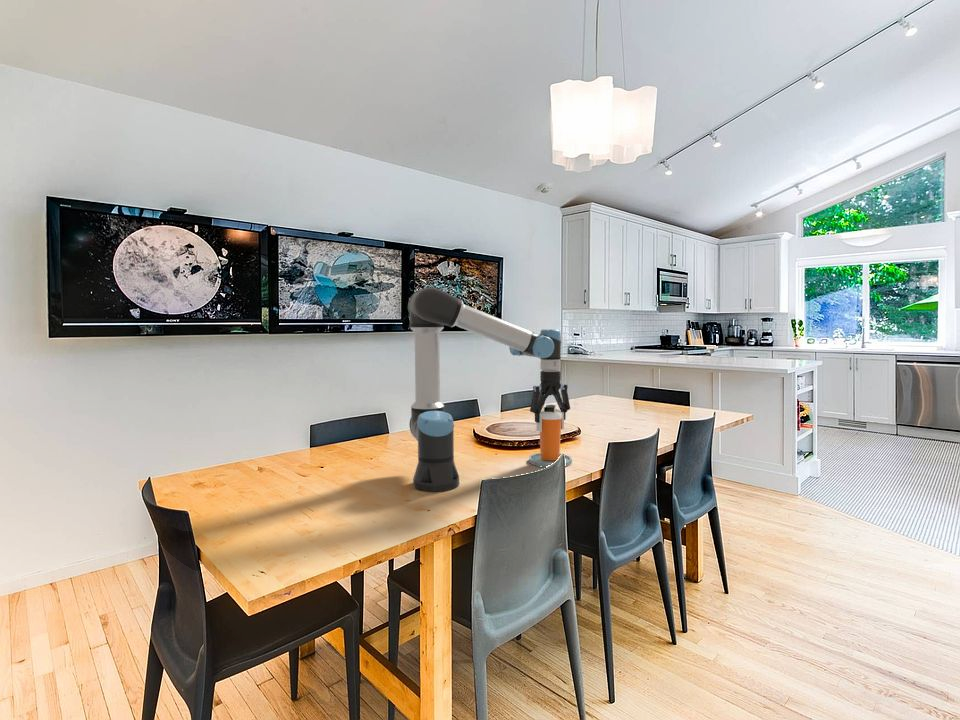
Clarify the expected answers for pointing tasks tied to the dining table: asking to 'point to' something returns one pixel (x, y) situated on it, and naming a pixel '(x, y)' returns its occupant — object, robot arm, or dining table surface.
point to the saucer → (537, 460)
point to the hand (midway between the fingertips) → (550, 429)
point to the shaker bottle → (550, 433)
